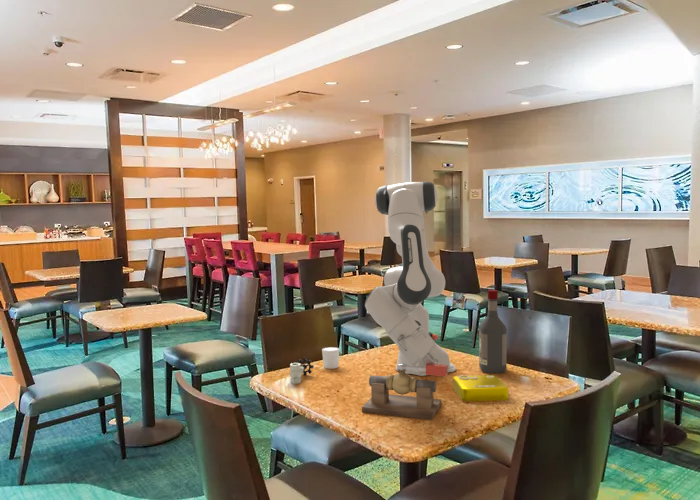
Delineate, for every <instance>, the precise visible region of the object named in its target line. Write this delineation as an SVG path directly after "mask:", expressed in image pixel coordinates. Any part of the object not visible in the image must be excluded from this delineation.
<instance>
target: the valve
mask: <svg viewBox="0 0 700 500" xmlns="http://www.w3.org/2000/svg"><path fill="white" fill-rule="evenodd" d="M312 362H313V361H312V359H309V360H307V357H303V358H302V359H301V358H300V359H298V360H297V362H293V363H292V362H291V363H290V364H289V369H290V371H289V377H290V378H289V379H290V380H289V381H290V382H289V383H290V384H293V385H296V384H297V385H298V384H299V385H300V383H302V375H303V376H307V375H308V374H309V375H310V374H312V373H313V371H312V369H314V366H315V365H313V364H311V363H312ZM303 363H304V364H303ZM305 363H306V364H305Z"/></svg>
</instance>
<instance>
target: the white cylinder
mask: <svg viewBox="0 0 700 500" xmlns="http://www.w3.org/2000/svg"><path fill="white" fill-rule="evenodd" d="M340 350H341V349H340V348H339V347H335V346H329V347H323V348H322V349H321V353H322V363H323V368H324V369H330V370H331V369H337V368H338V367H339V360H340Z"/></svg>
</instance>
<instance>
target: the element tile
mask: <svg viewBox="0 0 700 500" xmlns="http://www.w3.org/2000/svg"><path fill="white" fill-rule="evenodd" d="M452 390H453V391H454V392H455V394H456V395H457V396H458V397H459V399H460V400H461V401H463V402H471V403H472V402H493V401H494V402H495V401H496V402H497V401H508V400H509V386H508V385H507V384H506V383H505V382H504V381H502V380H501V379H500V378H499V377H498V376H496V375H495V374H484V375H483V374H482V375H481V374H478V375H465V374H463V375H454V376H453V377H452Z"/></svg>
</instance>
